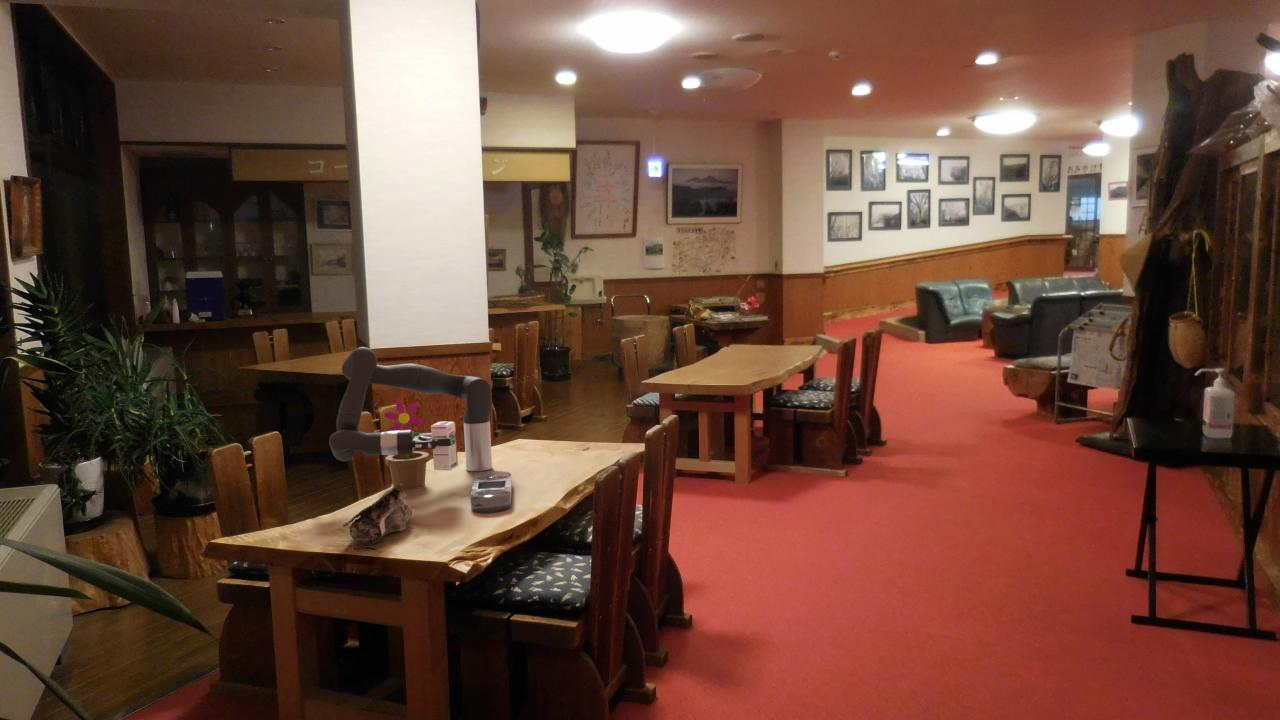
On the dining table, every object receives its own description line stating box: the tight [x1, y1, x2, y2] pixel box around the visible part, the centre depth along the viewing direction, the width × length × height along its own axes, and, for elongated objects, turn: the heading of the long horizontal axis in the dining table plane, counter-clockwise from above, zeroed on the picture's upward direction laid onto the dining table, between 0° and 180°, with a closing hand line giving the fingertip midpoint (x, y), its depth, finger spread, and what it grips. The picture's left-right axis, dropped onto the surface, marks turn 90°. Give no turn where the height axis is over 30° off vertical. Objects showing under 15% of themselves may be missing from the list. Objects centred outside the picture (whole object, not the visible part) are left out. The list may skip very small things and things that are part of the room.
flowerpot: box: [384, 399, 430, 491], centre depth 302 cm, size 14×14×30 cm
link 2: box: [469, 485, 513, 514], centre depth 280 cm, size 24×12×4 cm, turn 7°
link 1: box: [471, 470, 513, 491], centre depth 292 cm, size 24×12×4 cm, turn 7°
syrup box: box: [430, 420, 459, 471], centre depth 283 cm, size 6×6×14 cm
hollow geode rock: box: [342, 483, 413, 546], centre depth 250 cm, size 28×13×15 cm
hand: (451, 439), depth 283 cm, fingers closed on syrup box, 7 cm apart
